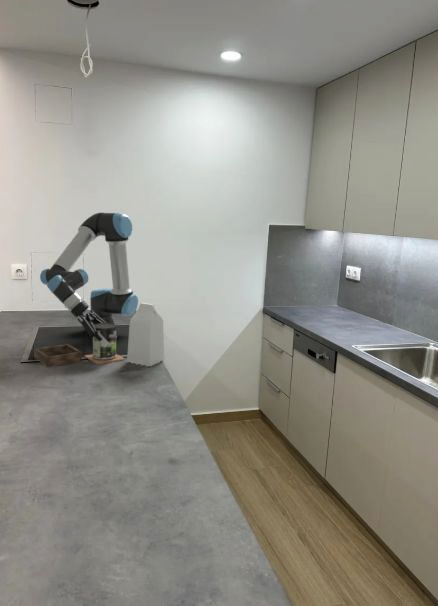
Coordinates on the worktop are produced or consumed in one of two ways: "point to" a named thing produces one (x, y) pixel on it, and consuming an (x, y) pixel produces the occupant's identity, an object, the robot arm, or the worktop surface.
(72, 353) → the tray
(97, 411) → the worktop surface
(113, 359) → the tile
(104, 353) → the coffee can
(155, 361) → the milk
